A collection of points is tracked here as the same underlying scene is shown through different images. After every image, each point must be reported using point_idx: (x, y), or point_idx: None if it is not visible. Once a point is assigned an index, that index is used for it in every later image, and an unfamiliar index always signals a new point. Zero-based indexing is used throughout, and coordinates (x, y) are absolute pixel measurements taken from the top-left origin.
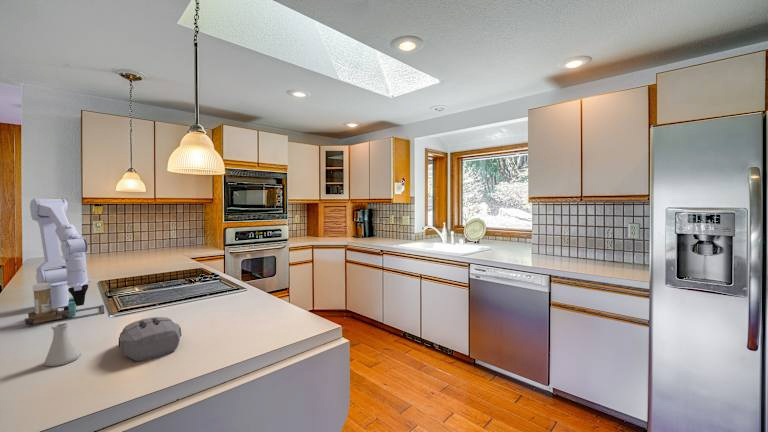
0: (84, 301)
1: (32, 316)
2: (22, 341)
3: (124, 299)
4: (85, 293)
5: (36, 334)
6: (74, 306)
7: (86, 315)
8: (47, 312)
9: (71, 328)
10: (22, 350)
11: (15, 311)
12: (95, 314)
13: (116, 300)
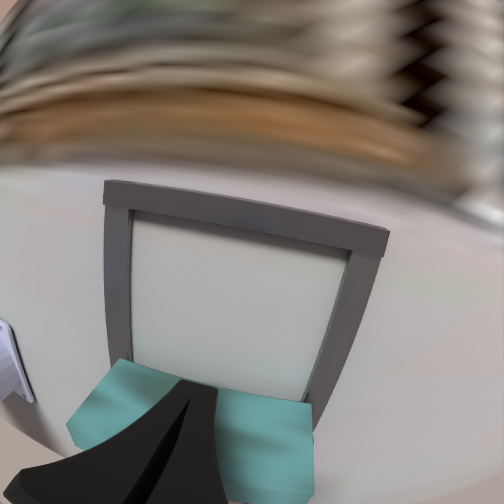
0: (212, 408)
1: None
2: (435, 485)
3: (59, 45)
4: (223, 497)
5: (409, 477)
6: (297, 459)
7: (346, 347)
8: None
9: (481, 402)
10: (499, 463)
11: (18, 422)
12: (368, 292)
13: (40, 93)
